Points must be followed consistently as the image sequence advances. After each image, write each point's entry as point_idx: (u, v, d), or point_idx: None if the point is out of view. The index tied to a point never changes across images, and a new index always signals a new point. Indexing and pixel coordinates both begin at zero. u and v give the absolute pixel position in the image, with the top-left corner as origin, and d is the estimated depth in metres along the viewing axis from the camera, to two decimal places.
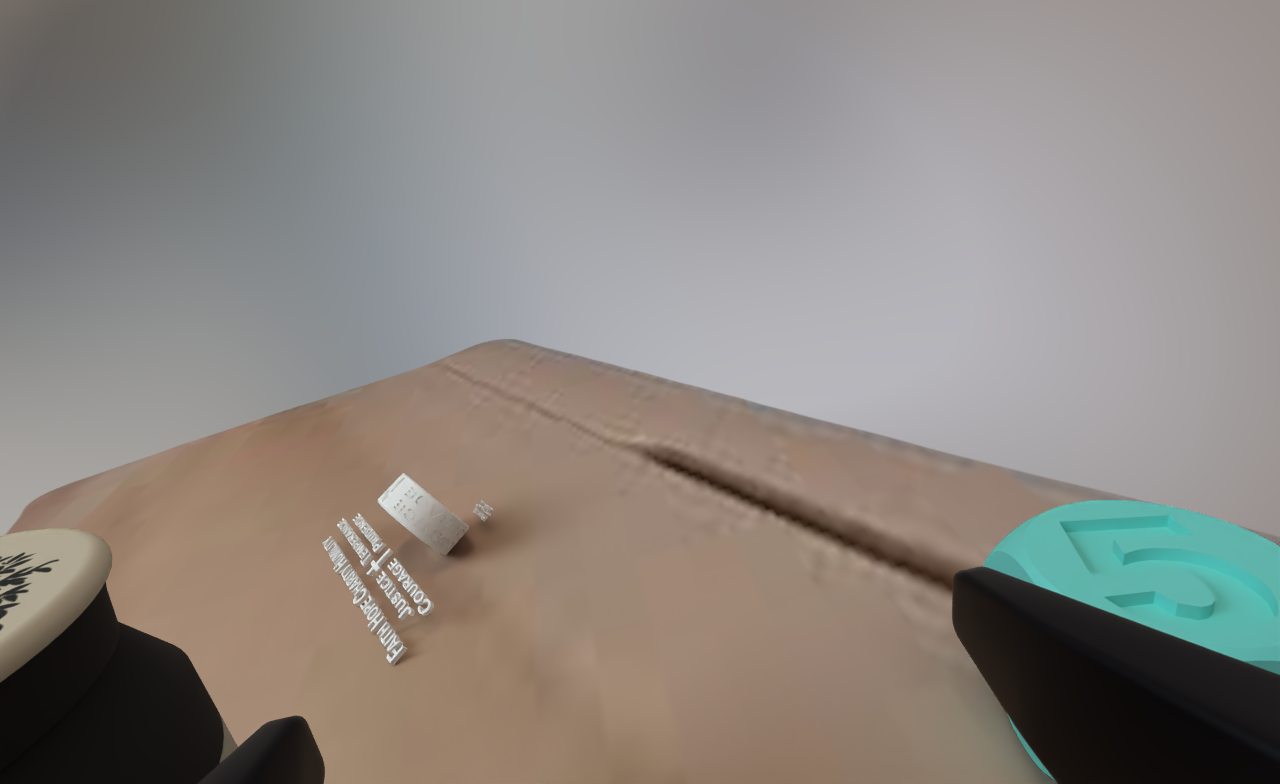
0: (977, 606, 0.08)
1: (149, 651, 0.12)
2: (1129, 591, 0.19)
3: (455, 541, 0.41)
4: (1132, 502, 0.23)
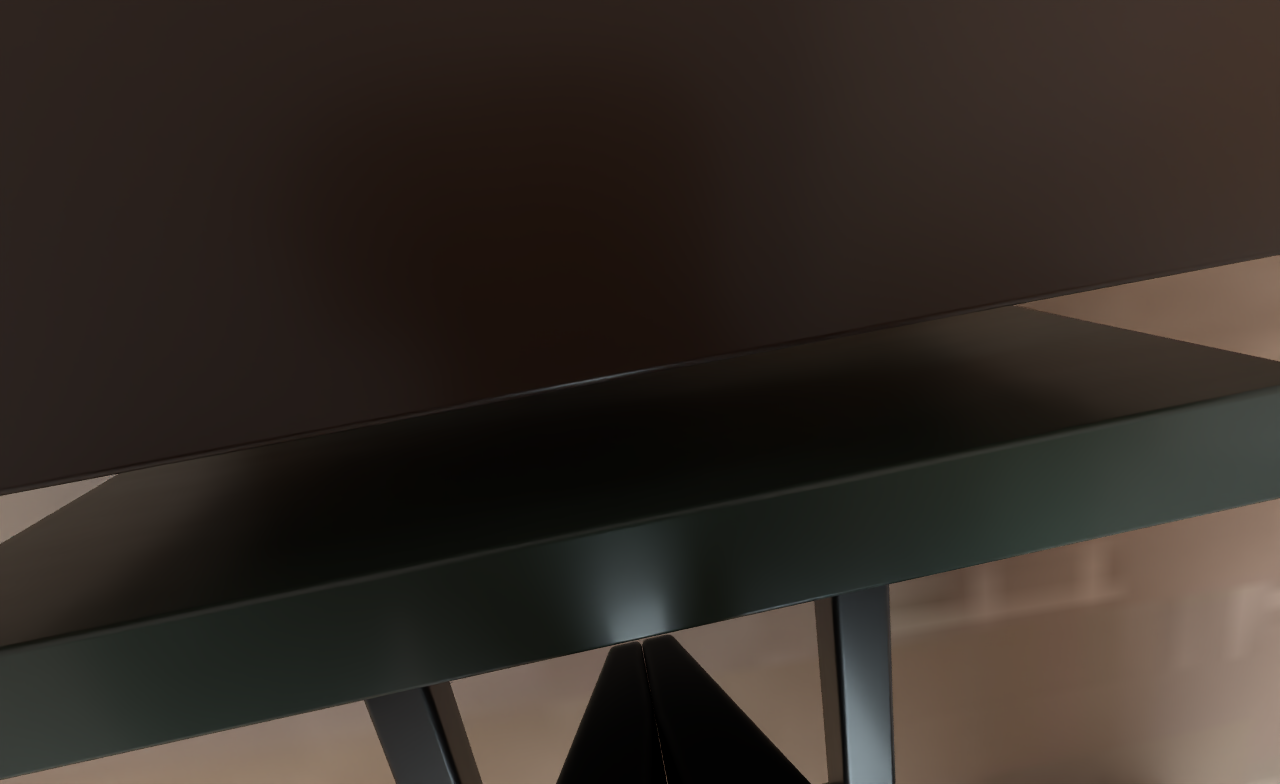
0: None
1: None
2: None
3: None
4: None
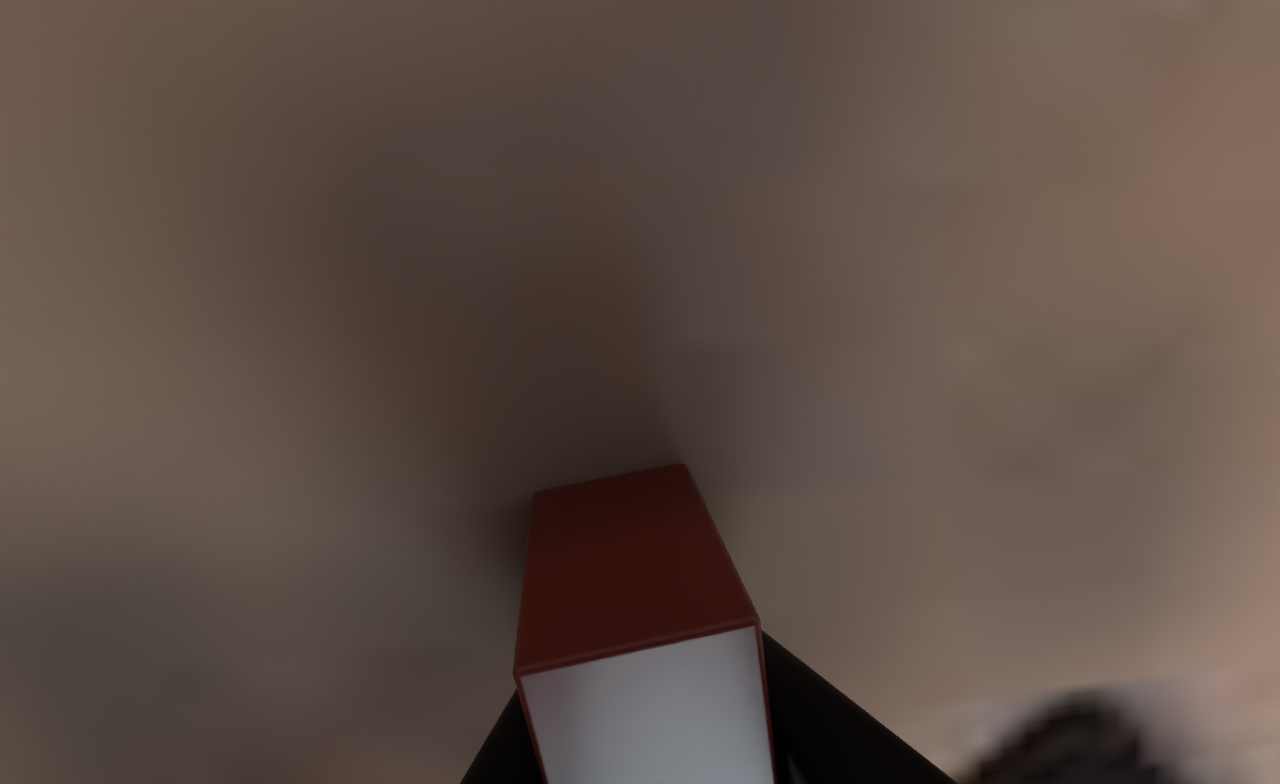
0: None
1: None
2: None
3: None
4: None
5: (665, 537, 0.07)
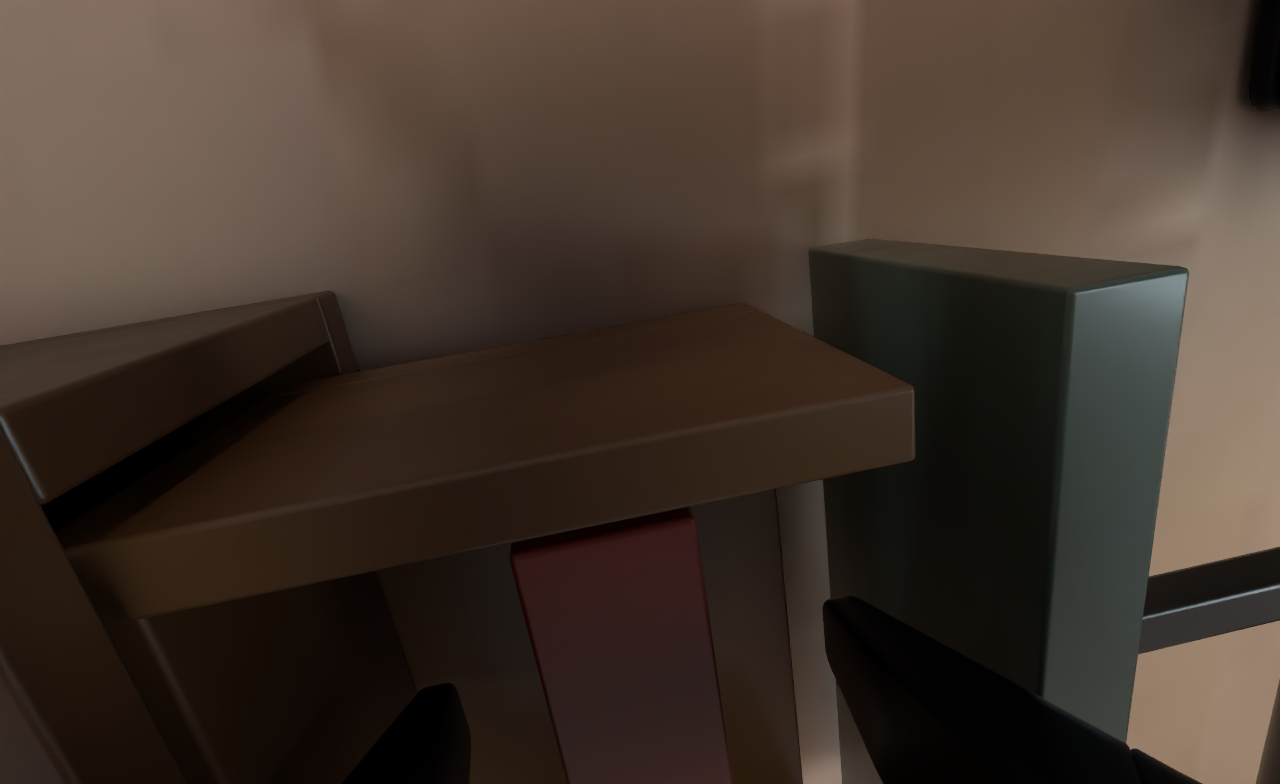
0: (839, 637, 0.08)
1: None
2: None
3: None
4: None
5: None
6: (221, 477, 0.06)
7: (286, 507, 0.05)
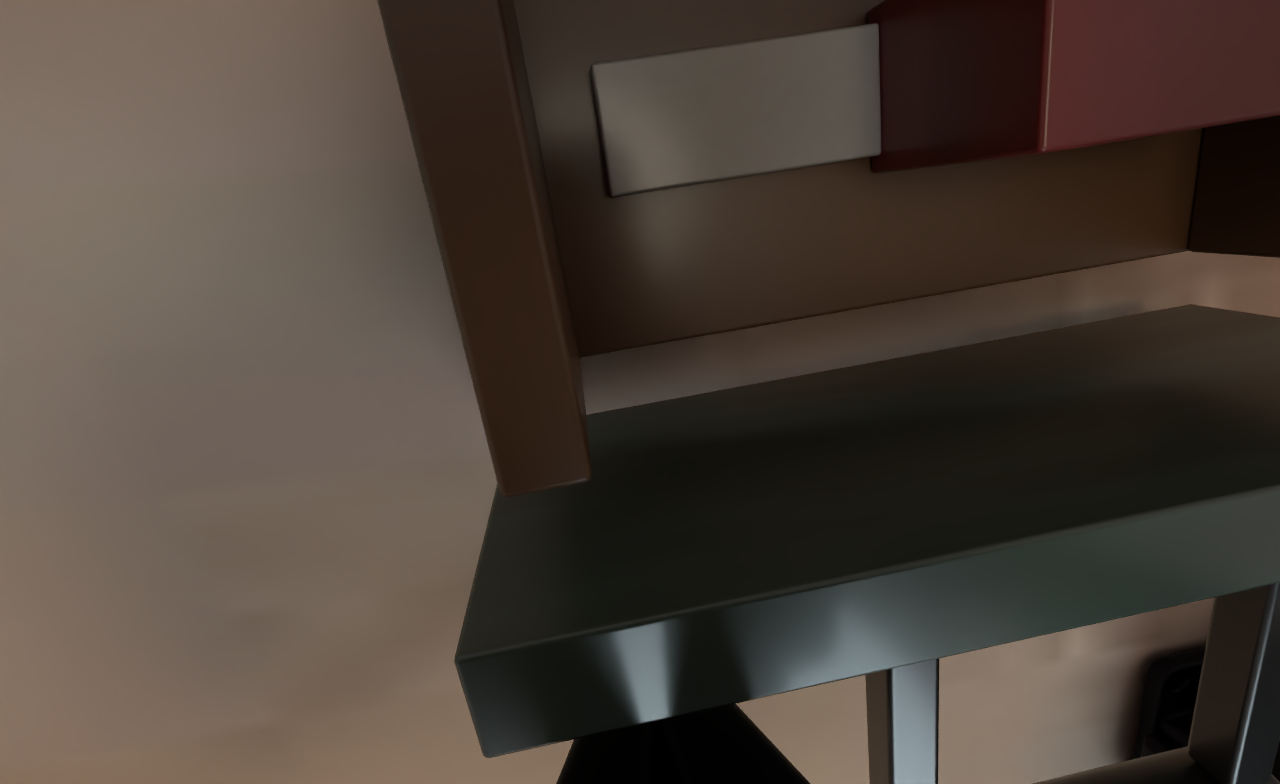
0: None
1: None
2: None
3: None
4: None
5: None
6: None
7: None
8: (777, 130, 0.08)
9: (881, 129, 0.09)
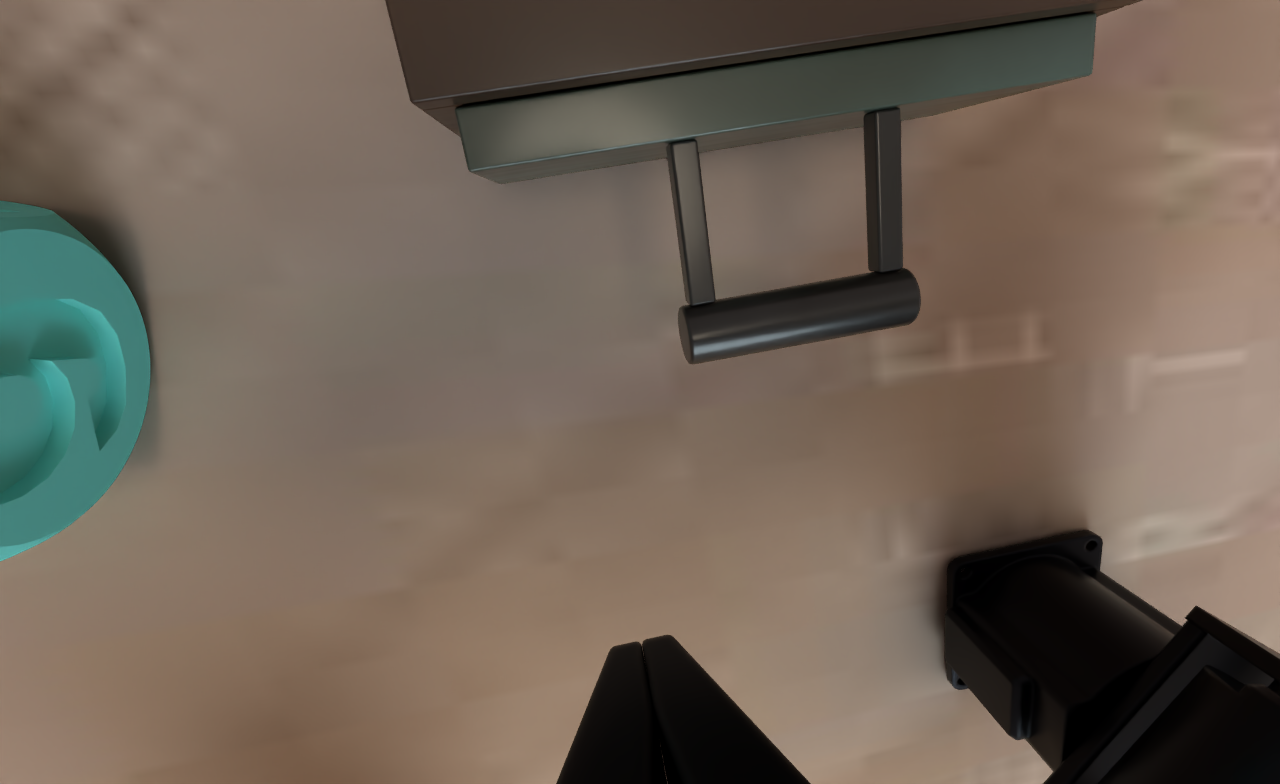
0: None
1: None
2: None
3: None
4: None
5: None
6: None
7: None
8: None
9: None
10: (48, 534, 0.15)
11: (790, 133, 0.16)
